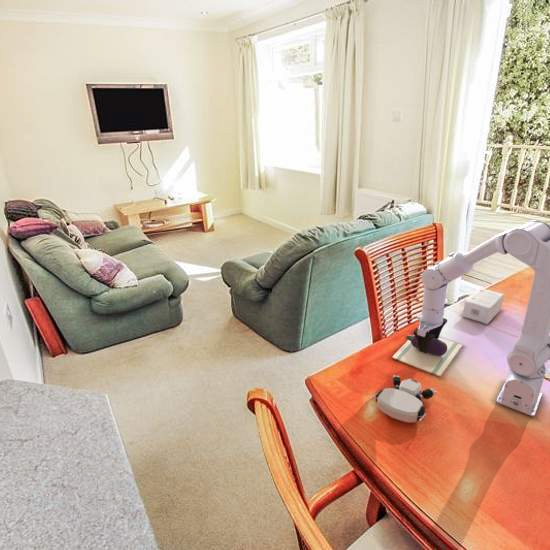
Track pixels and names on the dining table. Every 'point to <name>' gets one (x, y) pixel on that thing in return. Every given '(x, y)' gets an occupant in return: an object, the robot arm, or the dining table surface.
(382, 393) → the robot toy
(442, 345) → the eggplant
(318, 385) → the dining table surface
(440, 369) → the towel
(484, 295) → the small box
